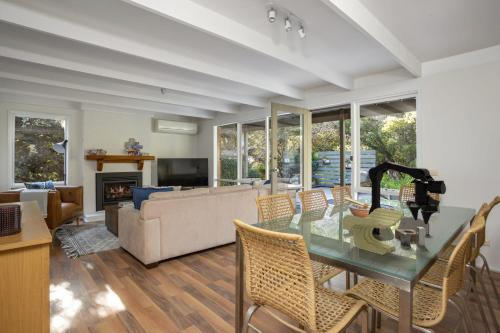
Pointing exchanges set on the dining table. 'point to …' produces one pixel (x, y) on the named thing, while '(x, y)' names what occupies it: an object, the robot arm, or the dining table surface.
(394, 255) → the dining table surface
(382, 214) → the slatted curved stool
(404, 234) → the cylinder
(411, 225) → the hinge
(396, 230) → the socket block
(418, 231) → the square bit
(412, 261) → the dining table surface
